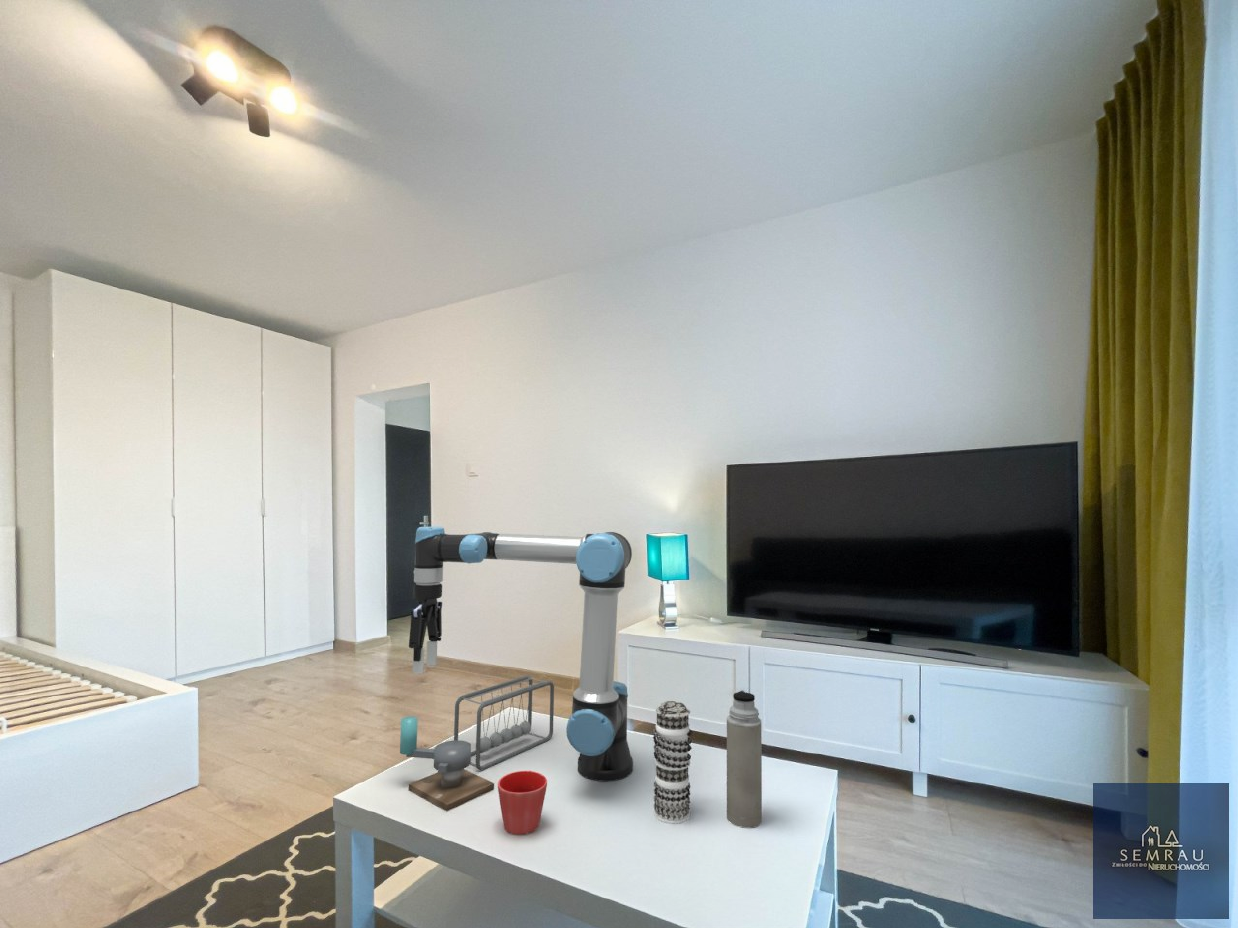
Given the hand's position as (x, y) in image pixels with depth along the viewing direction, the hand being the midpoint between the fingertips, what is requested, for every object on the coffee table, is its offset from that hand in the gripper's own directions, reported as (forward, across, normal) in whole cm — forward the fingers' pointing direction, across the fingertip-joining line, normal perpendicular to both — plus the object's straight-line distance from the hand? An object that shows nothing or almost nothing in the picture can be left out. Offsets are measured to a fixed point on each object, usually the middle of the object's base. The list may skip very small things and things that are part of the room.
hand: (424, 668), depth 158 cm
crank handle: (+21, +8, +7) cm, 23 cm away
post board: (+27, +8, +12) cm, 31 cm away
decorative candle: (+27, +10, +68) cm, 73 cm away
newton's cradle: (+27, -18, +17) cm, 37 cm away
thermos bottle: (+27, +9, +84) cm, 89 cm away
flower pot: (+27, +20, +34) cm, 48 cm away
